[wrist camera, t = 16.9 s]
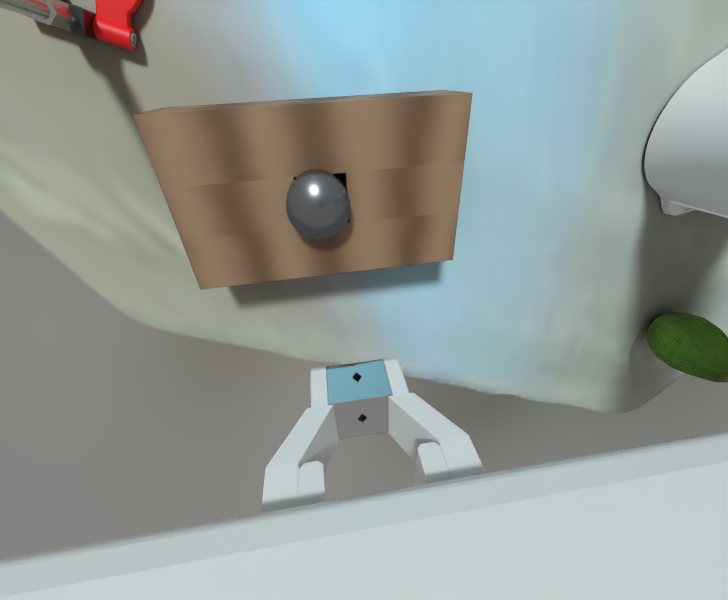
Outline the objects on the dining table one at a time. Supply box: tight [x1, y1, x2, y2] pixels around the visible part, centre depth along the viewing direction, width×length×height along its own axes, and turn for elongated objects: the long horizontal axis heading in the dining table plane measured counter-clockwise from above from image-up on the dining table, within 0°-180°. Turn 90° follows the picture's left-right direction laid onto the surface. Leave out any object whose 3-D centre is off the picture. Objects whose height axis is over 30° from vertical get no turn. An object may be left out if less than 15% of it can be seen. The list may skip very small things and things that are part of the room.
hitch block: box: [133, 90, 472, 290], centre depth 30 cm, size 24×14×6 cm, turn 93°
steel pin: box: [286, 169, 351, 239], centre depth 29 cm, size 5×5×8 cm
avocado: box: [647, 312, 728, 382], centre depth 47 cm, size 8×8×12 cm
